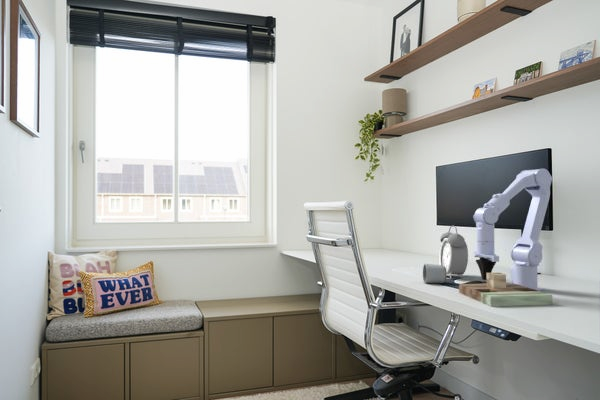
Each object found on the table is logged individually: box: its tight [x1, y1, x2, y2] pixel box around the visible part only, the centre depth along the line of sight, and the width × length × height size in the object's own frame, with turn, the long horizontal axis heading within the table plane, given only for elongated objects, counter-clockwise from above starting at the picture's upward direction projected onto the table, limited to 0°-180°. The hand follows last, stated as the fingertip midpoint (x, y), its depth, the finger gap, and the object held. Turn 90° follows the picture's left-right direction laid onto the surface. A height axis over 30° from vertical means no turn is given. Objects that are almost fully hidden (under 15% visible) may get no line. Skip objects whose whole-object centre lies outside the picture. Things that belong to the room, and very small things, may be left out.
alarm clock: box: [438, 225, 469, 280], centre depth 199 cm, size 16×9×22 cm, turn 0°
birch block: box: [486, 272, 507, 288], centre depth 158 cm, size 4×4×4 cm
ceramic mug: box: [422, 263, 448, 284], centre depth 185 cm, size 11×8×8 cm
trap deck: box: [458, 282, 553, 307], centre depth 154 cm, size 22×20×3 cm
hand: (485, 279), depth 164 cm, fingers closed
